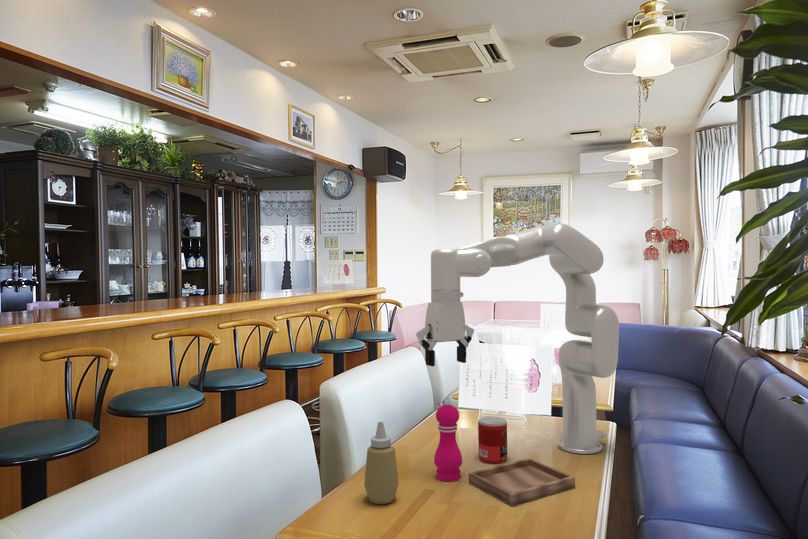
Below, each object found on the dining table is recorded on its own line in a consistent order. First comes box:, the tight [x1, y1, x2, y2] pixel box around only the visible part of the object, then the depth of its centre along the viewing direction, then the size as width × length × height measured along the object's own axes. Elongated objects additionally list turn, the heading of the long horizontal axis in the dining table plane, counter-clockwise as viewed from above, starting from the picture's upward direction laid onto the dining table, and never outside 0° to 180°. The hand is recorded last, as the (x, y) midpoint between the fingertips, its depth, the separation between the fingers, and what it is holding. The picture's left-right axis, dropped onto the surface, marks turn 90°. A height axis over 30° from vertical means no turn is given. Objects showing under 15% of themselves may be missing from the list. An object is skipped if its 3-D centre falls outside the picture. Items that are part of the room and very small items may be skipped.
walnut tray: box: [468, 457, 576, 507], centre depth 135 cm, size 20×16×2 cm
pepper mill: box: [433, 398, 463, 482], centre depth 141 cm, size 7×7×20 cm
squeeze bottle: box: [363, 421, 400, 505], centre depth 128 cm, size 8×8×18 cm
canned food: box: [477, 416, 508, 465], centre depth 154 cm, size 8×8×11 cm
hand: (446, 363), depth 141 cm, fingers open, 9 cm apart
